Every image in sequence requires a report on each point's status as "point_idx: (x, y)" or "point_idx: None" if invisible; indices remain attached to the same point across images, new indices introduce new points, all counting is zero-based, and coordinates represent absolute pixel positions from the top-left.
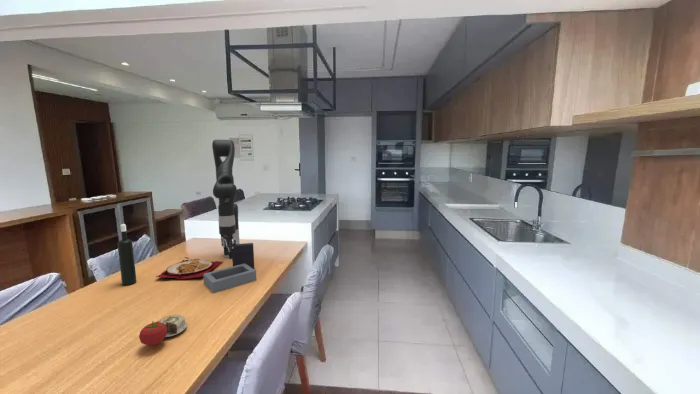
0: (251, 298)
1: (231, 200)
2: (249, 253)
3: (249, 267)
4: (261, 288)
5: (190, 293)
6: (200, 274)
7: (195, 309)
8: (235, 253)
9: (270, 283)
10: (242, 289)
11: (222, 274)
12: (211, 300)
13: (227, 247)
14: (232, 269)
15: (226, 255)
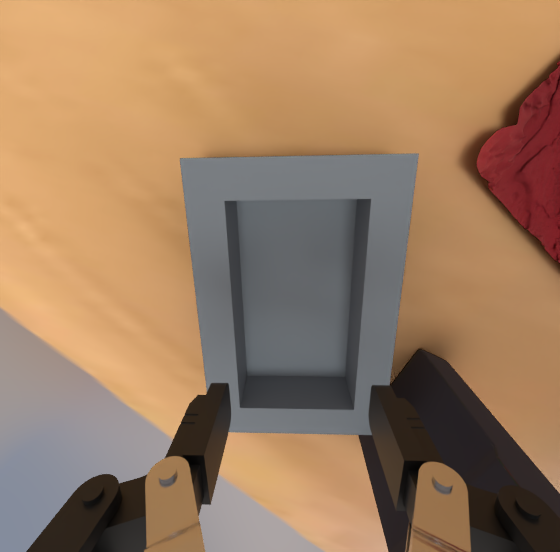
0: (31, 295)
1: None
2: (402, 528)
3: (290, 427)
4: (116, 368)
5: (291, 33)
6: (533, 170)
7: (34, 2)
8: (474, 469)
9: (147, 416)
10: (155, 301)
11: (357, 277)
12: (109, 124)
13: (189, 527)
14: (357, 348)
15: (370, 397)
